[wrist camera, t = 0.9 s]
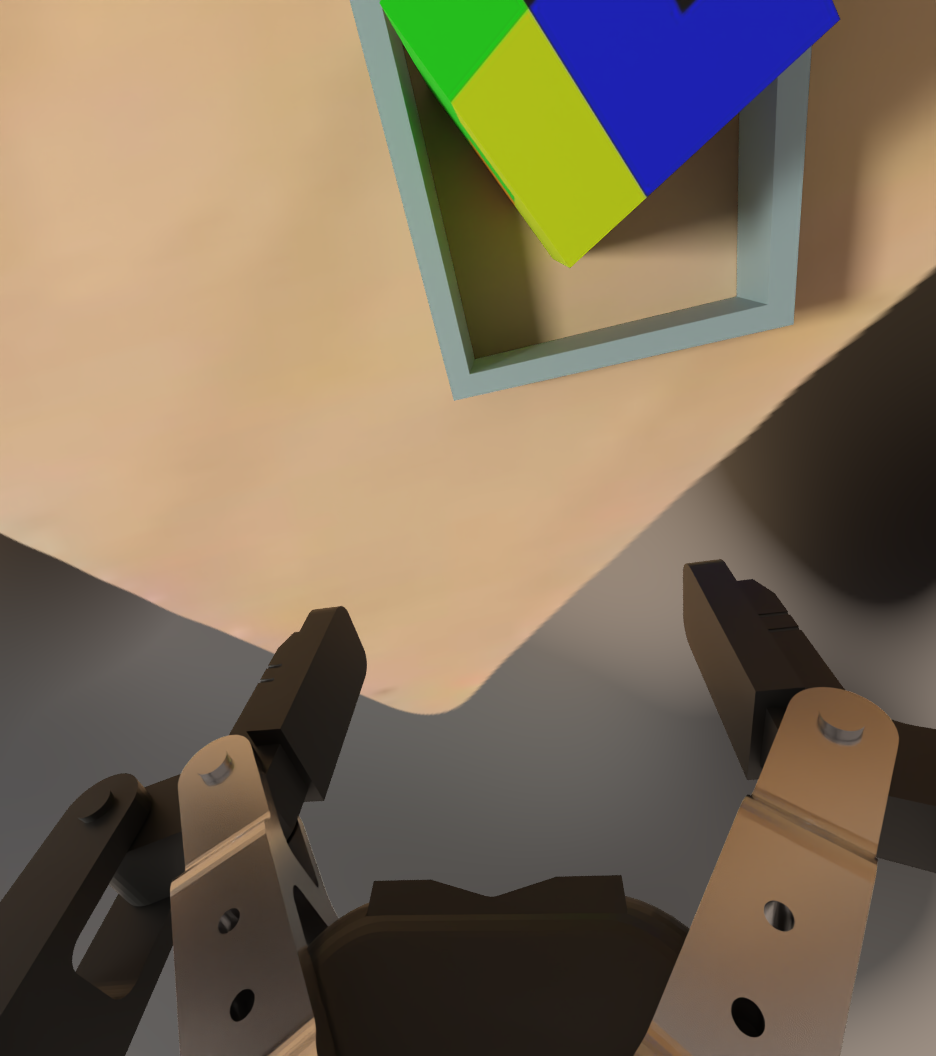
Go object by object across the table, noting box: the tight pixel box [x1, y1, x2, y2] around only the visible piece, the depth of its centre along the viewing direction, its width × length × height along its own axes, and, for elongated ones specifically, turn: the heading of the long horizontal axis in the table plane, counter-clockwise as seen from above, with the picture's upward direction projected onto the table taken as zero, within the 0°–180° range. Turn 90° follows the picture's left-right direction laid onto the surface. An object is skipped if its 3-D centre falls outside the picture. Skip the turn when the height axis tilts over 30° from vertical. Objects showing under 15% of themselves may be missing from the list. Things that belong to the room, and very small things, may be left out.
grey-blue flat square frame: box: [350, 0, 812, 401], centre depth 24 cm, size 18×17×4 cm
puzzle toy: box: [379, 0, 840, 268], centre depth 20 cm, size 10×10×10 cm
